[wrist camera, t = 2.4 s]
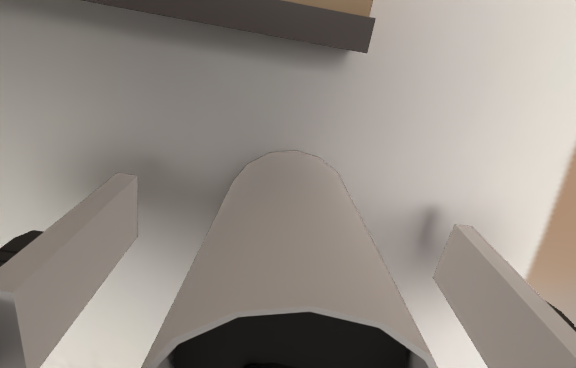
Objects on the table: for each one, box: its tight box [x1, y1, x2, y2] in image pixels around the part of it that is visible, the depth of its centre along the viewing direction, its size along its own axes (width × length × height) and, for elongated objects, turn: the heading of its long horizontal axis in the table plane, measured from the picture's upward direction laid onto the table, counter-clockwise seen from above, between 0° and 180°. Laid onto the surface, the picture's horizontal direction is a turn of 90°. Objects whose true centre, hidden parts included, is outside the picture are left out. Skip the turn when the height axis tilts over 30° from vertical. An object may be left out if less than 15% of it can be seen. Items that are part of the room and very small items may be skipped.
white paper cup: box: [141, 150, 438, 368], centre depth 12 cm, size 7×7×10 cm
